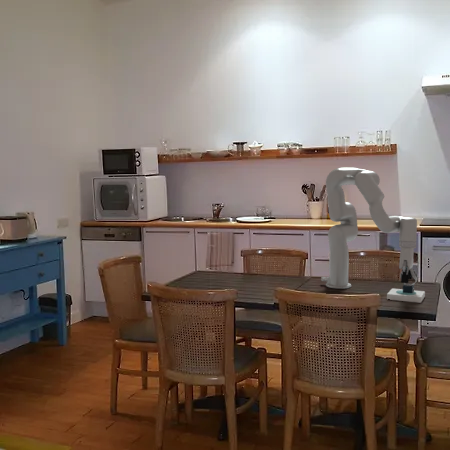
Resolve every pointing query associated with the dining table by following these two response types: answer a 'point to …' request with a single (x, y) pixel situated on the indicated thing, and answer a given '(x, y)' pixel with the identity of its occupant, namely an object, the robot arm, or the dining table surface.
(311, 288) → the dining table surface
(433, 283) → the dining table surface
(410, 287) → the watch
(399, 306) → the dining table surface
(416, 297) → the charging dock
